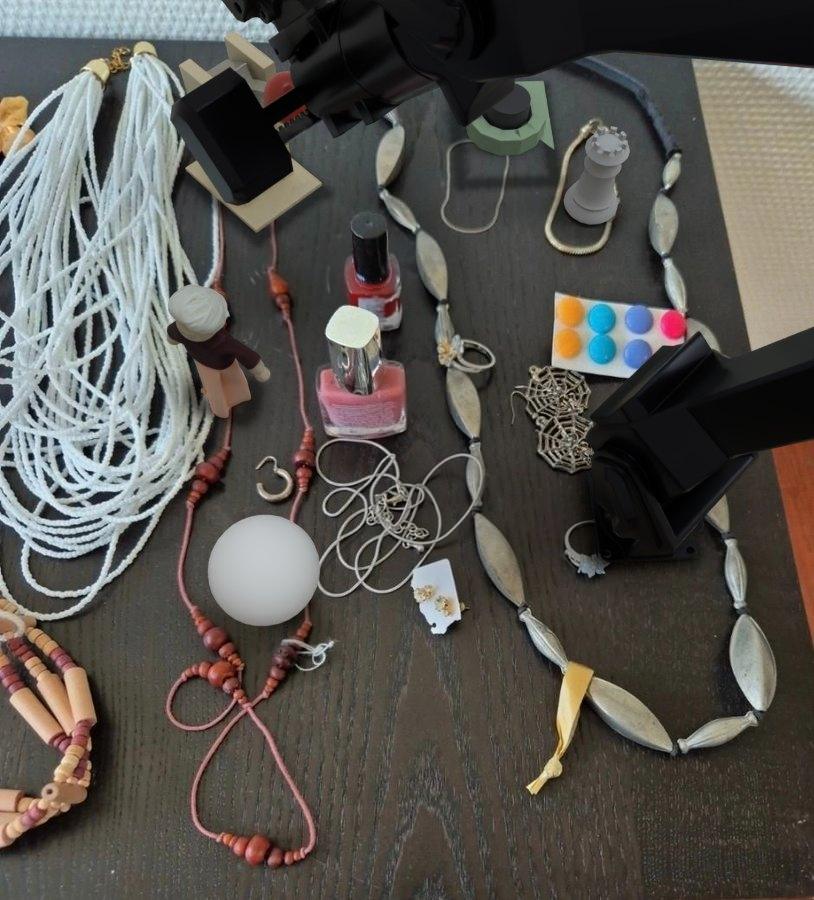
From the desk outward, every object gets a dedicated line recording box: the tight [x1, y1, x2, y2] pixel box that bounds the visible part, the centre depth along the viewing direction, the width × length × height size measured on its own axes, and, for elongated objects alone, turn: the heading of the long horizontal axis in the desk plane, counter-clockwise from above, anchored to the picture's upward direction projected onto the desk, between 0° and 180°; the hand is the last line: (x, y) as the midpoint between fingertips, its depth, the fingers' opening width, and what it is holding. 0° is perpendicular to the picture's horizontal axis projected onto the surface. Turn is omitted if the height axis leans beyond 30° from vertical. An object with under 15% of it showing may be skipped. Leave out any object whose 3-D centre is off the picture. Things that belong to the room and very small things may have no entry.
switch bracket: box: [178, 30, 323, 233], centre depth 60 cm, size 9×7×12 cm
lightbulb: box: [207, 514, 321, 627], centre depth 46 cm, size 6×6×11 cm
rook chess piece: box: [563, 125, 631, 226], centre depth 60 cm, size 4×4×8 cm
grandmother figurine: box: [166, 283, 271, 419], centre depth 51 cm, size 8×4×13 cm, turn 76°
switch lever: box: [206, 58, 306, 124], centre depth 54 cm, size 10×3×3 cm, turn 44°
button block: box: [465, 80, 555, 157], centre depth 67 cm, size 11×8×2 cm
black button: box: [484, 83, 531, 130], centre depth 65 cm, size 4×4×2 cm
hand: (278, 103), depth 53 cm, fingers open, 9 cm apart
